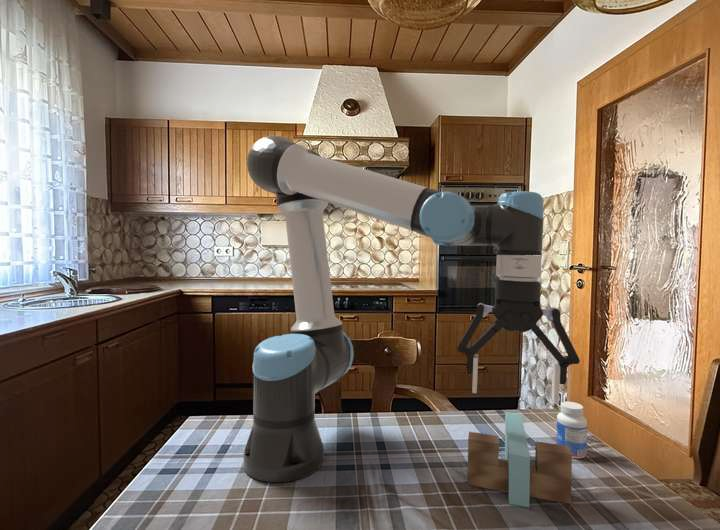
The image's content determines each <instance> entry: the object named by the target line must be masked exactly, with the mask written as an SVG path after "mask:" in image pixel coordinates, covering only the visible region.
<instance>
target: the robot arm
mask: <svg viewBox="0 0 720 530" xmlns="http://www.w3.org/2000/svg"><path fill="white" fill-rule="evenodd" d="M246 167H247V168H246V169H247V172H248V175H249V176H250V178H251V180H252V182H254V184H255V185H256V186H257V187H259V188H260V189H261V190H264V191H265V192H269V193H271V194H274V195H275V199H276V208H277V210H278V211H279V212H280V213H282V214H283V215H284V217H285V227H286V229H285V230H286V235H287V238H286V239H287V245H288V246H287V247H288V254H289V263H290V272H291V281H292V289H293V297H294V298H293V300H294V306H295V307H294V309H295V317H296V318H295V319H296V321H295V323H294V324H293V325H292V327H291V328H290V333H286V334H282V335H275V336H271V337H268V338H266V339H264V340H262V341H261V342H260V343H258V345H257V346H255V349H254V352H253V360H252V361H253V362H252V367H251V368H252V369H251V370H252V405H253V406H252V411H253V413H252V414H253V418H252V419H253V420H252V421H253V422H252V426H251V429H250V432H249V435H248V439H247V442H246V444H245V447H244V451H243V469H244V471H245V473H246V474H247V475H249V476H250V477H251V478H253V479H255V480H257V481H262V482H266V483H267V482H268V483H286V482H287V483H288V482H292V481H293V482H294V481H296V480H299V479H303V478H306V477H307V476H310V475H312V474H313V473H315V472H316V471H317V470H318V469H319V468H320V467H321V466H322V464H323V462H324V459H325V458H324V457H325V456H324V450H325V449H324V443H323V441H322V437H321V435H320V431H319V428H318V425H317V422H316V416H315V414H316V413H315V412H316V411H315V409H316V408H315V407H316V403H315V399H316V396H315V395H316V394H317V393H319V392H320V391H322V390H323V389H325V388H326V387H328V386H330V385H332V384H333V383H336V382H338V381H339V380H341V378H343V376H344V375H346V373H348V371H349V370H350V368H351V366H352V363H353V360H354V356H355V355H354V346H353V342H352V340H351V338H350V337H349V336H347V334H346V333H345V332H344V327H343V322H342V321H341V319H339V318H338V317H337V316H336V315H335V309H334V299H333V298H334V297H333V292H332V291H333V290H332V282H331V274H330V265H329V264H330V263H329V257H328V249H327V239H326V231H325V222H324V214H323V213H324V210H325V209H326V208H327V207H328V206H329V204H331V205H334V206H336V207H337V206H338V207H341V208H343V209H346V210H349V211H352V212H355V213H357V214H358V213H359V214H361V215H364V216H367V217H370V218H372V219H376V220H379V221H381V222H385V223H388V224H390V225H394V226H397V227H398V228H402V229H405V230H409V231H411V232H414V233H416V234H419V235H422V236H425V237H428V238H430V239H431V241H432V242H433V243H434V244H435V245H439V246H447V247H454V246H462V247H463V246H465V247H466V246H467V247H468V246H470V247H471V246H473V247H474V246H488V247H490V246H491V247H492V246H496V248H497V249H496V261H495V262H496V266H495V275H496V277H498V279H497V280H496V281H495V291H494V292H495V296H494V297H495V298H494V304H493V305H488V304H485V303H483V302H479V303H478V304H477V306H476V313H475V316H474V318H473V319H472V321H471V323H470V324H469V326H468V327H467V329H466V331H465V333H464V335H463V336H462V338H461V340H460V342H459V343H458V345H457V348H456V349H457V352H459V353H462V354H464V355H465V356H466V373H467V374H472V387H471V389H472V390H471V391H472V394H477V392H478V391H477V390H478V372H479V371H478V369H479V368H478V367H479V354H477V352H479V351H480V350H481V349H482V348H483V347H484V346H485V345H486V344H487V343H488V342H489V341H490V340H491V339H492V338H493V337H494V336H496V334H497V333H499V332H500V331H501V329H504V330H506V331H507V332H514V331H518V332H520V333H526V332H528V331H531V332H533V334H534V335H535V336H536V337H537V338H538V339H539V341H540V342H541V343H542V344H543V345H544V347H545V348H546V349H547V350H548V352H549V353H550V354H551V355H552V357H553V358H554V359H555V360H556V362H553V363H552V379H551V380H552V381H551V400H552V402H553V404H554V405H560V385H566V384H567V380H568V379H567V376H568V367H569V366H571V365H579V363H581V361H580V358H579V356H578V353H577V352H576V349H575V348H574V346H573V344H572V342H571V340H570V338H569V336H568V333H567V332H566V329H565V328H564V325H563V324H562V320H561V311H560V309H558V307H557V308H556V307H552V308H551V307H550V308H542V307H541V290H542V289H541V288H542V287H541V286H542V283H541V282H540V281H538V279H540V278H541V277H542V256H543V255H542V253H543V252H542V251H543V235H544V234H543V233H544V221H545V220H544V198H543V196H542V195H541V194H540V193H538V192H536V191H526V190H525V191H524V190H522V191H520V190H518V191H512V192H510V191H508V192H504V193H502V194H500V195H499V197H498V201H497V203H495V204H489V205H471V203H470V202H469V200H468V199H467V198H465V197H464V196H463V195H460V194H458V193H456V192H453V191H440V190H437V189H435V188H433V189H432V188H429V187H426V186H424V185H420V184H416V183H413V182H409V181H406V180H403V179H399V178H396V177H392V176H389V175H387V174H382V173H378V172H376V171H375V172H374V171H371V170H368V169H365V168H361V167H358V166H356V165H355V166H354V165H350V164H348V163H344V162H341V161H338V160H334V159H331V158H327V157H325V156H324V157H323V156H321V154H319V153H318V152H316V151H314V150H312V149H309V148H306V147H305V146H304V145H302V144H299V143H296V142H294V141H292V140H290V139H288V138H286V137H284V136H280V135H267V136H264V137H262V138H259V139H258V140H257V141H255V142H254V143H253V144H252V146H251V147H250V149H249V151H248V153H247V158H246ZM489 313H492V314H493V316H494V317H495V319H496V320H495V321H494V322H493V323H492V324H491V326H490V327H489V328H487V329H486V331H485V332H483V333H482V335H481V336H480V337H478V339H476V341H475V342H473V344H472V345H470V346H468V344H469V342H470V340H471V339H472V338H473V335H474V333H475V332H476V330H477V328H478V327H479V325H480V323H481V322H482V321H483V317H487V316H488V315H489ZM543 316H544V317H545V318H546V319H547V321H549V322H551V323H552V326H553V327H554V330H555V332H556V335H557V336H558V338H559V340H560V342H561V345H562V347H563V348H564V350H565V352H566V354H567V355H563V354H562V353H561V352H560V351H559V350H558V348H557V347H556V346H555V345H554V344H553V342H552V341H551V340H550V339H549V337H548V336H547V335H546V334H545V332H543V330H542V329H541V328H540V326H538V325H537V323H538V322H539V321H540V320H541V318H542V317H543Z"/></svg>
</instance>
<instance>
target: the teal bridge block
mask: <svg viewBox="0 0 720 530" xmlns="http://www.w3.org/2000/svg"><path fill="white" fill-rule="evenodd" d="M504 415H505V416H504V419H505V420H504V429H505V430H504V455H505V456H504V458H505V460H508V470H509V492H508V504H509V505H514V506H519V507H524V508H530V496H529V494H530V464H531V457H530V452H529V447H528V441H527V436H526V431H525V426H524V421H523V415H522V413H518V412H510V411H505V414H504Z"/></svg>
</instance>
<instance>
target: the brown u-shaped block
mask: <svg viewBox="0 0 720 530" xmlns="http://www.w3.org/2000/svg"><path fill="white" fill-rule="evenodd" d="M499 437H500V436H499V435H495V434H489V433H488V434H487V433H481V432H473V431H468V438H467V485H468V486H474V487H477V488H483V489H488V490H494V491H500V492H504V493H509V470H508V460H506V459H503V458H500V457H499V450H500V449H499V446H500V440H499ZM534 450H535V458H534V460H535V461H534V462H535V463H530V494H529V497H530V498H531V497H532V498H537V499H541V500H547V501H552V502H557V503H564V504H569V505H572V473H573V472H572V468H573V467H572V465H573V461H572V460H573V458H572V454H571V451H570V449H569V447H568V446H565V445H558V444H557V443H551V442H545V441H544V442H542V441H537V440H535V449H534Z"/></svg>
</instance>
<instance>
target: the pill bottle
mask: <svg viewBox="0 0 720 530" xmlns="http://www.w3.org/2000/svg"><path fill="white" fill-rule="evenodd" d="M560 411H561V412H559V413H557V416H556V444H558V445H565V446H568V447H569V449H570V451H571V454H572V459H583V458H585V457H586V456H587V453H588V451H587V450H588V447H587V446H588V443H587V442H588V421H587V418H586V417H585V416H584V406H583V405H582V404H580V403H578V402H573V401H562V402H561V403H560Z"/></svg>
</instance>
